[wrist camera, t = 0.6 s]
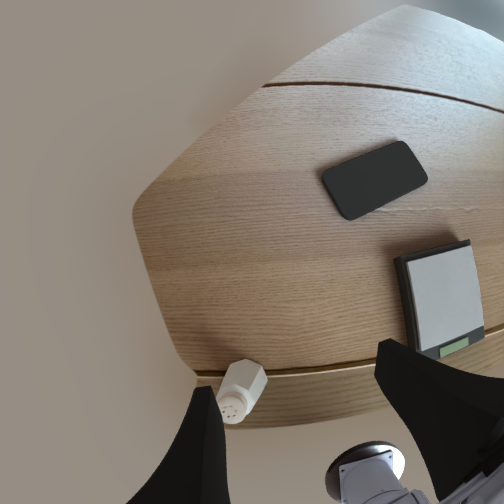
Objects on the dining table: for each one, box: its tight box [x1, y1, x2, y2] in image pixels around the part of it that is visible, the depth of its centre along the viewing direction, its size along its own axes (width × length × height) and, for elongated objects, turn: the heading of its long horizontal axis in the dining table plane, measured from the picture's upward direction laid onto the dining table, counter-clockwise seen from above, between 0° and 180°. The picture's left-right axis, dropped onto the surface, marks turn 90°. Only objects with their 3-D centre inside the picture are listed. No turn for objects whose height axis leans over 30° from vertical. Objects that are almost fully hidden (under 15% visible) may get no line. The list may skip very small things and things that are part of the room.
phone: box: [322, 141, 428, 220], centre depth 34 cm, size 7×1×15 cm
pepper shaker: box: [216, 359, 268, 424], centre depth 27 cm, size 5×5×11 cm
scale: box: [394, 239, 485, 360], centre depth 29 cm, size 14×12×3 cm
